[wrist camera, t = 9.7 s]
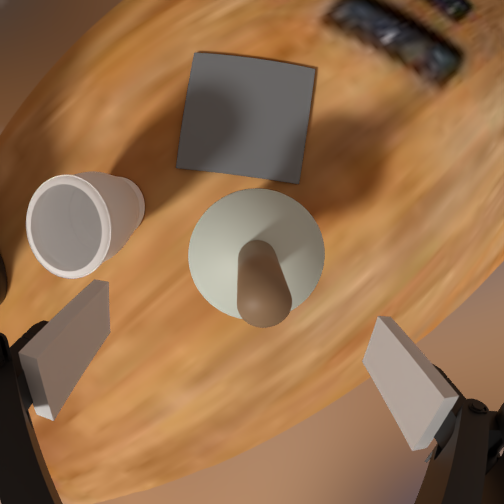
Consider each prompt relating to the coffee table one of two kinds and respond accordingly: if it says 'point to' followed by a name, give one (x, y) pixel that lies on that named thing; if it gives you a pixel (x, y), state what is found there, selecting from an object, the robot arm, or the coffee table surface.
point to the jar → (82, 221)
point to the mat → (246, 117)
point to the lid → (256, 255)
